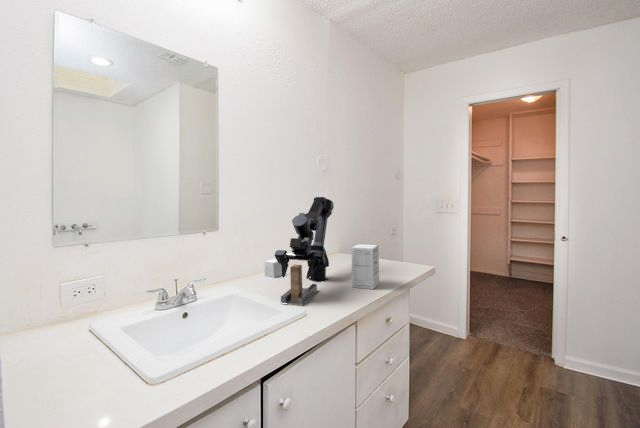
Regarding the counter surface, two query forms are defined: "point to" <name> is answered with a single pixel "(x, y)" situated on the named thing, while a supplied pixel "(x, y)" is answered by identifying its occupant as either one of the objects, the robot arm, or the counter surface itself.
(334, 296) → the counter surface
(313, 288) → the bottom track
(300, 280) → the brown wooden block
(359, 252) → the supplement box
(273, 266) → the product box
